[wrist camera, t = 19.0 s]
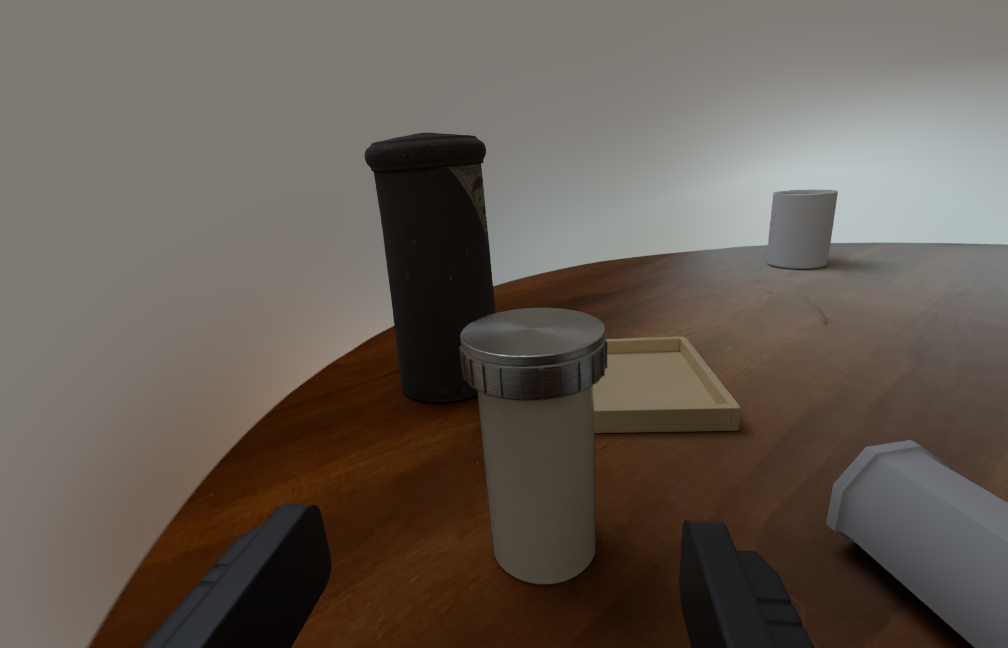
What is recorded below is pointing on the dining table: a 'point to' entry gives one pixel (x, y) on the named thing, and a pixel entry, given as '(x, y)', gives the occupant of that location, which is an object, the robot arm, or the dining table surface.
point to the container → (433, 254)
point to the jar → (540, 484)
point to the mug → (801, 228)
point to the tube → (930, 535)
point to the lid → (533, 353)
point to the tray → (660, 389)
